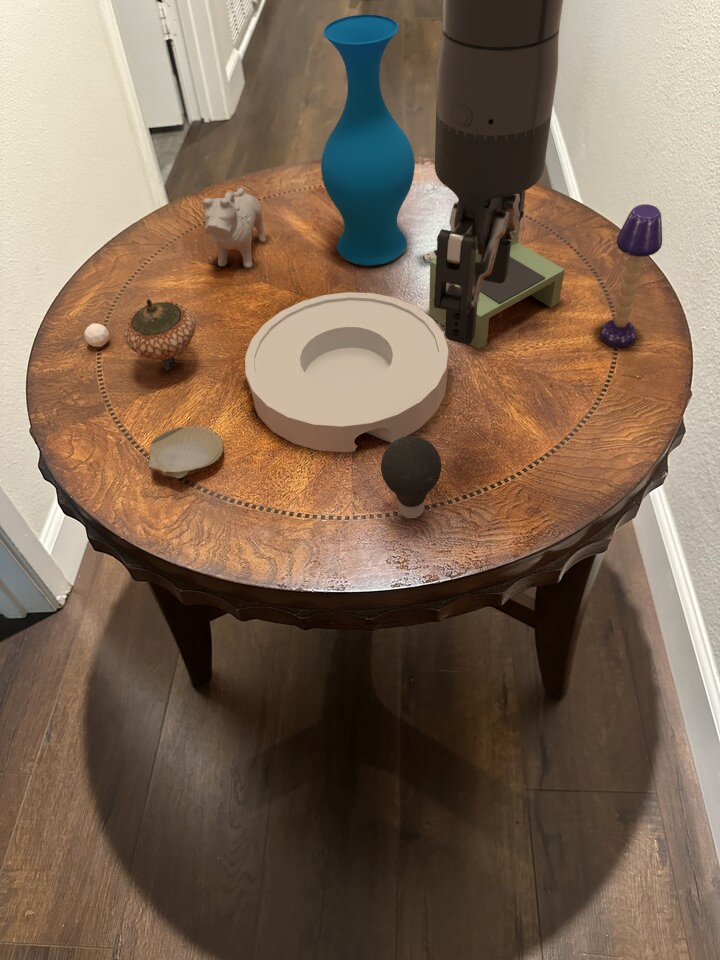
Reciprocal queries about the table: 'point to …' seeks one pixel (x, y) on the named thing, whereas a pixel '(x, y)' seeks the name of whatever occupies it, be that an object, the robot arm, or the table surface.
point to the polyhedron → (96, 335)
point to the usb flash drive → (430, 256)
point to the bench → (509, 287)
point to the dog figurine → (233, 224)
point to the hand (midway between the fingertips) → (477, 308)
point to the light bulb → (411, 472)
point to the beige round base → (347, 370)
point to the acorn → (160, 331)
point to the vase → (366, 148)
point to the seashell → (184, 450)
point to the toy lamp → (633, 269)
